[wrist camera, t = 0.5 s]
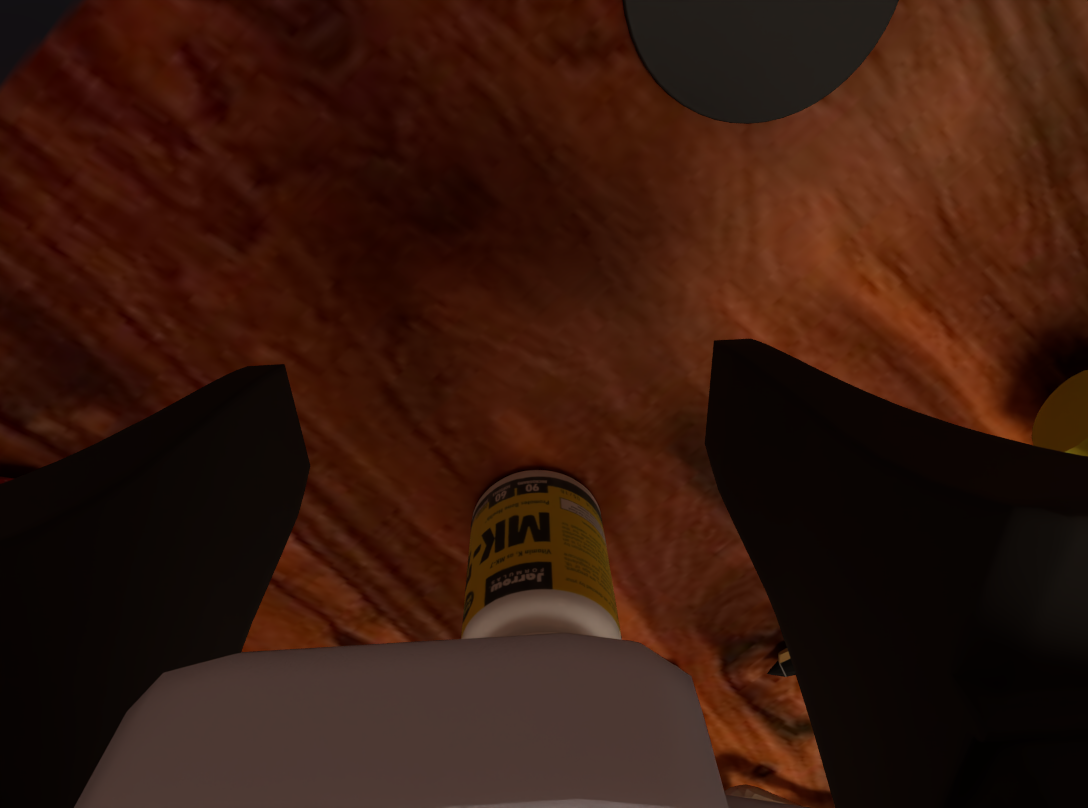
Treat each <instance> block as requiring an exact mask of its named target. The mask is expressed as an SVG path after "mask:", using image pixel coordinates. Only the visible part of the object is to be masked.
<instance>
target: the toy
mask: <svg viewBox="0 0 1088 808" xmlns="http://www.w3.org/2000/svg"><path fill="white" fill-rule="evenodd" d="M1032 441H1033V445H1034V446H1038V447H1042V448H1047V449H1052V450H1057V451H1062V452H1066V453H1071V454H1076V455H1082V456H1088V370H1085V371H1082V372H1080V373H1078V374H1076V375H1074V376H1072V377H1070V378H1069V379H1068V380H1066V381H1065V382H1064V383H1062V384H1061V385H1060V386H1059V387H1058V388H1057V389H1056V390H1055V391H1054V392H1053V393H1052V394H1051V395H1050V396H1049V397H1048V399H1047V400H1046V401H1045V402H1044V404H1043V405H1042V407H1041V409H1040V411H1039V412H1038V414H1037V416H1036V418H1035V422H1034V425H1033V428H1032Z"/></svg>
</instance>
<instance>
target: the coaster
mask: <svg viewBox="0 0 1088 808" xmlns="http://www.w3.org/2000/svg"><path fill="white" fill-rule="evenodd" d="M898 1H899V0H623V5H624V12H625V17H626V21H627V25H628V29H629V33H630V36H631V38H632V41H633V43H634V46H635V48H636V51H637V53H638V55H639V57H640V59H641V60H642V62H643V64H644V66H645V68H646V69H647V70H648V72H649V73H650V74H651V76H652V77H653V78H654V80H655V81H656V82H657V84H658V85H659V86H660V87H661V88H662V89H663V90H664V91H665V92H666V93H667V94H668V95H670V96H671V97H672V98H674V99H675V100H676V101H678V102H679V103H680V104H682V105H683V106H685V107H687V108H689V109H691V110H693V111H694V112H696V113H698V114H700V115H703V116H706V117H709V118H712V119H714V120H719V121H724V122H730V123H746V124H749V123H759V122H767V121H771V120H776V119H780V118H783V117H786V116H789V115H791V114H794V113H797V112H799V111H801V110H803V109H805V108H807V107H809V106H811V105H813V104H815V103H816V102H818V101H819V100H821V99H822V98H824V97H825V96H827V95H828V94H830V93H831V92H832V91H834V90H835V89H836V88H837V87H838V86H839V85H841V84H842V83H843V82H844V81H845V80H847V79H848V77H849V76H850V75H851V74H852V73H853V72H854V71H855V70H856V69H857V68H858V67H859V66H860V65H861V64H862V62H863V61H864V60H865V59H866V57H867V56H868V55H869V53H870V52H871V51H872V49H873V48H874V47H875V45H876V44H877V42H878V40H879V39H880V37H881V35H882V34H883V32H884V31H885V29H886V27H887V25H888V23H889V21H890V19H891V17H892V15H893V13H894V11H895V9H896V6H897V3H898Z"/></svg>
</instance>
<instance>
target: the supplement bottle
mask: <svg viewBox="0 0 1088 808" xmlns="http://www.w3.org/2000/svg"><path fill="white" fill-rule="evenodd" d="M549 633H573V634H581V635H589V636H597V637H605V638H613V639H621V632H620V626H619V620H618V614H617V608H616V602H615V596H614V591H613V584H612V578H611V572H610V566H609V560H608V554H607V548H606V541H605V535H604V530H603V524H602V518H601V513H600V509H599V507H598V504H597V502H596V500H595V498H594V497H593V495H592V494H591V493H590V492H589V490H588V489H587V488H585V487H584V486H583V485H582V484H580V483H579V482H578V481H576V480H574V479H573V478H571V477H568V476H566V475H564V474H561V473H557V472H553V471H547V470H529V471H523V472H518V473H515V474H512V475H509V476H507V477H505V478H503V479H501V480H500V481H498V482H496V483H495V484H494V485H492V486H491V487H490V488H489V489H488V490H487V491H486V492H485V493H484V494H483V496H482V497H481V498H480V500H479V501H478V503H477V505H476V507H475V510H474V513H473V517H472V523H471V535H470V545H469V557H468V567H467V580H466V588H465V603H464V615H463V625H462V636H461V639H468V638H484V637H500V636H517V635H533V634H549Z"/></svg>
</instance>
